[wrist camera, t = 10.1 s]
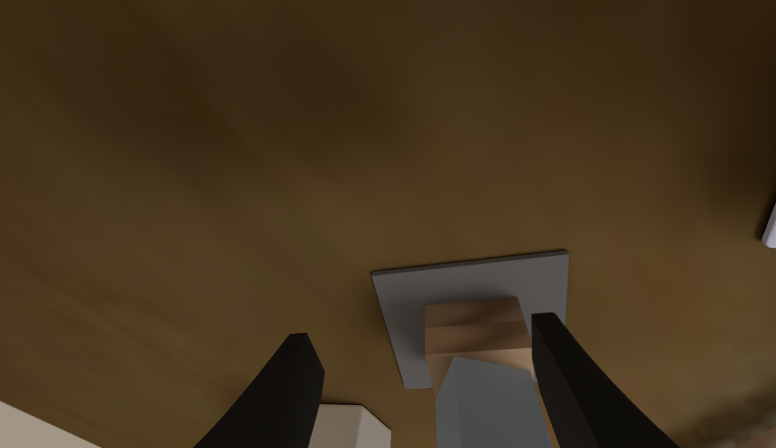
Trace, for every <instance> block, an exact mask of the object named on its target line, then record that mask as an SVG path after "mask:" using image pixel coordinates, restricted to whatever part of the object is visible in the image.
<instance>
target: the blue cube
mask: <svg viewBox="0 0 776 448" xmlns="http://www.w3.org/2000/svg"><path fill="white" fill-rule="evenodd" d="M436 433H437V448H552V444H551V441H550V437H549V434H548V430H547V427H546V423H545V420H544V416H543V413H542V409H541V406H540V402H539V399H538V395H537V392H536V388H535V385H534V381H533V378H532V375H531V371H530V370H527V369H522V368H516V367H511V366H505V365H500V364H494V363H489V362H483V361H478V360H472V359H467V358H461V357H456V356H454V357H453V360H452V362H451V365H450V367H449V369H448V372H447V374H446V377H445V379H444V381H443V384H442V386H441V389H440V391H439V394H438V396H437V398H436Z"/></svg>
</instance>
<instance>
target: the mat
mask: <svg viewBox="0 0 776 448" xmlns="http://www.w3.org/2000/svg"><path fill="white" fill-rule="evenodd" d="M568 266H569V253H568V251H567V250H565V251H556V252H547V253H538V254H529V255H520V256H511V257H502V258H493V259H485V260H476V261H467V262H458V263H449V264H440V265H431V266H422V267H413V268H404V269H395V270H387V271H378V272H372V279H373V282H374V286H375V289H376V292H377V296H378V299H379V302H380V306H381V309H382V312H383V316H384V319H385V322H386V326H387V329H388V333H389V336H390V339H391V343H392V346H393V349H394V353H395V356H396V359H397V363H398V366H399V369H400V373H401V376H402V379H403V383H404V386H405V389H418V388H433V387H432V382H431V378H430V374H429V370H428V365H427V361H426V357H425V305H435V304H446V303H457V302H468V301H478V300H489V299H500V298H511V297H518V300H519V304H520V307H521V310H522V313H523V316H524V319H525V323H526V326H527V329H528V332H529V335H530V338H531V342H532V332H531V314H534V313H546V312H554V313H555V314H557V316H558V317H559V319H560V320H561V321H562V323H563V324H564V325H565V318H566V300H567V283H568ZM533 369H534V366H533ZM536 382H537V378H536V374H535V370H534V383H536Z"/></svg>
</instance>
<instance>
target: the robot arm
mask: <svg viewBox="0 0 776 448" xmlns="http://www.w3.org/2000/svg"><path fill="white" fill-rule="evenodd" d="M762 242H763V244H765V245H766V246H767V247H770V248H776V203H775V206H774V209H773V211H772V214H771V216H770V219H769V222H768V224H767V227H766V230H765V232H764V235H763V237H762ZM531 332H532V362H533V366H534V370H535V374H536V378H537V382H538V386H539V390H540V393H541V396H542V399H543V402H544V405H545V407H546V410H547V413H548V416H549V418H550V421H551V424H552V427H553V429H554V432H555V435H556V438H557V440H558V443H559V446H560V448H680V447H679V446H678V445H677V444H676V443H675V442H674V441H672V440H671V439H670V438H669V437H668V436H667V435H666V434H665V433H664V432H663V431H662V430H660V429H659V428H658V427H657V426H656V425H655V424H654V423H653V422H652V421H651V420H650V419H649V418H648V417H647V416H646V415H645V414H644V413H642V412H641V411H640V410H639V409H638V408H637V407H636V406H635V405H634V404H633V403H632V402H631V401H630V400H629V399H628V398H627V397H626V395H625V394H624V393H623V392H622V391H621V390H620V389H619V388H618V387H617V386H616V385H615V384H614V383H613V382H612V381H611V380H610V379H609V378H608V376H607V375H606V374H605V373H604V372H603V371H602V370H601V369H600V368H599V366H598V365H597V364H596V363H595V362H594V361H593V360H592V359H591V357H590V356H589V355H588V354H587V353H586V352H585V350H584V349H583V348H582V347H581V346H580V344H579V343H578V342H577V341H576V340H575V338H574V337H573V336H572V335H571V333H570V332H569V331H568V329H567V328H566V327H565V325H564V324H563V323H562V321H561V320H560V319H559V317H558V316H557V314H555V313H554V312H546V313H534V314H531ZM324 373H325V371H324V369H323V367H322V365H321V362H320V360H319V358H318V356H317V354H316V352H315V349H314V347H313V345H312V343H311V341H310V339H309V337H308V334H307V333H296V334H290V335H289V336H288V337H287V338H286V340H285V341H284V342H283V343H282V345H281V346H280V347H279V348H278V350H277V351H276V352H275V354H274V355H273V356H272V357H271V359H270V360H269V361H268V362H267V364H266V365H265V366H264V368H263V369H262V370H261V371H260V373H259V374H258V375H257V376H256V378H255V379H254V380H253V381H252V383H251V384H250V385H249V386H248V388H247V389H246V390H245V391H244V392H243V394H242V395H241V396H240V397H239V398H238V400H237V401H236V402H235V403H234V404H233V405H232V406H231V408H230V409H229V410H228V411H227V412H226V413H225V415H224V416H223V417H222V418H221V419H220V420H219V421H218V422H217V424H216V425H215V426H214V427H213V428H212V429H211V430H210V431H209V432H208V433H207V434H206V435H205V436H204V437H203V438H202V439H201V440H200V441H199V442H198V443H197V444H196V445H195V446H194V447H193V448H308V447H309V443H310V439H311V436H312V432H313V428H314V425H315V421H316V417H317V413H318V409H319V406H320V401H321V395H322V388H323V381H324Z"/></svg>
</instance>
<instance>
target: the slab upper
mask: <svg viewBox="0 0 776 448" xmlns="http://www.w3.org/2000/svg"><path fill="white" fill-rule="evenodd" d="M454 356H456V357H461V358H467V359H472V360H478V361H483V362H489V363H494V364H500V365H505V366H511V367H516V368H522V369H527V370H530V371H531V375H532V378H533V381H534V369H533V362H532V342H531V338H530V335H529V332H528V329H527V326H526V323H525V320H522V321H509V322H497V323H485V324H472V325H460V326H448V327H435V328H425V357H426V361H427V365H428V370H429V374H430V378H431V382H432V387H433V391H434V395H435V399H436V398H437V396H438V394H439V391H440V389H441V386H442V384H443V381H444V379H445V377H446V374H447V372H448V369H449V367H450V365H451V362H452V360H453V357H454Z"/></svg>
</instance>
